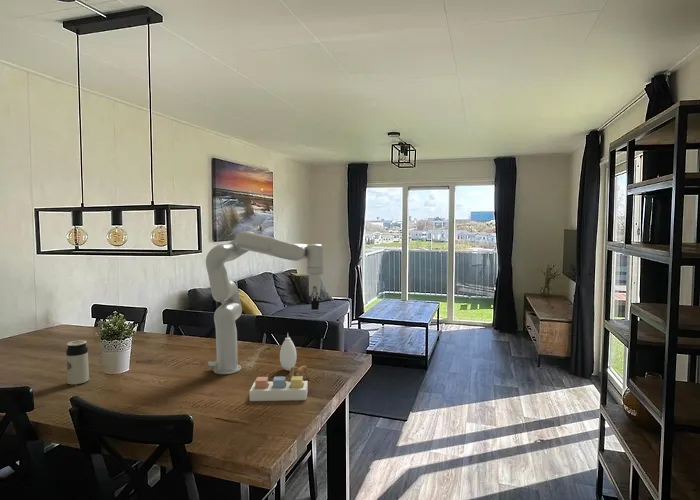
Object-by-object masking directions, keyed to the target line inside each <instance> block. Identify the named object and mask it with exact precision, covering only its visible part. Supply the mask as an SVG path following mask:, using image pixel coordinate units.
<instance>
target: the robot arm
mask: <svg viewBox="0 0 700 500" xmlns="http://www.w3.org/2000/svg"><path fill="white" fill-rule="evenodd" d="M249 251H250V252H254V253H259V254H263V255H267V256H271V257H274V258H279V259H284V260H289V261H294V262H298V261H300V260H305V259H306V275H309V276H308V296H309V297H311V301H310V302H311V307H310V308H311V310H319V305H320V293H321V285H322V284H321V281H322V280H321V275H324V246H323V245H322V244H320V243H309V244H306V243H291V242H288V241H287V242H286V241H282V240H280V239H279V240H278V239H276V238H275V237H273V236H270V235H265V234H259V233H255V232H253V231H250V230H246V231H240V232H238V233H237V234H236V236H235V239H233V240H231V241H230V242H227V243H220V244H217V245H216V246H214V247H212V248H211V249H210V250H209V251H208V253H207V255H206V258H205V268H206V272H207V276H208V281H209V287H210V292H211V295H212V298H213V300H214V301H215V302H219V303H221V305H219V307H217V308H216V310H215V311H214V314H213V321H214V326H215V340H216V341H215V343H216V350H215V351H216V360H215V361H208V362H207V366H208V367H209V368H213V372H214V374H218V375H231V374H235V373H239V372H240V371H241V370H242V366H241V364H239V363H238V361H239V360H238V359H239V358H238V356H239V355H238V330H237V325H236V321H237V320H238V319H239V318H240V317H241V315H242V312H243V308H242V301H241V297H240V292H239V288H238V285H237V284H236V283H235V281H234V280H231V279H229V277H228V273H227V269H226V267H225V263H228V262H231V261H234V260H236V259H238V258H240V257H241V256H243V255H245V254H247V253H248V252H249Z"/></svg>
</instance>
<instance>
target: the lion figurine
mask: <svg viewBox="0 0 700 500" xmlns="http://www.w3.org/2000/svg"><path fill="white" fill-rule="evenodd" d="M308 370H309V369H308V367H307V366H306V365H301V366H299V367H298V366H296V365H295V366H293V367H292V368H291V369H290V370H289V378H291V377H292V376H303V375H304V374H305V375H306V376H305V377H307V378H306V381H309V380H310V379H311V377H310V373H309V371H308ZM303 377H304V376H303Z"/></svg>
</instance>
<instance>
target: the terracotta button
mask: <svg viewBox="0 0 700 500" xmlns="http://www.w3.org/2000/svg"><path fill="white" fill-rule="evenodd" d="M254 382H255V389H267V388H268V382H269V376H257V377H256V379H255V380H254Z"/></svg>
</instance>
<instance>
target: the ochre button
mask: <svg viewBox="0 0 700 500" xmlns="http://www.w3.org/2000/svg"><path fill="white" fill-rule="evenodd" d="M303 377H304V376H292V377H290V381H291V388H302V387H303V381H304V379H303Z"/></svg>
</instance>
